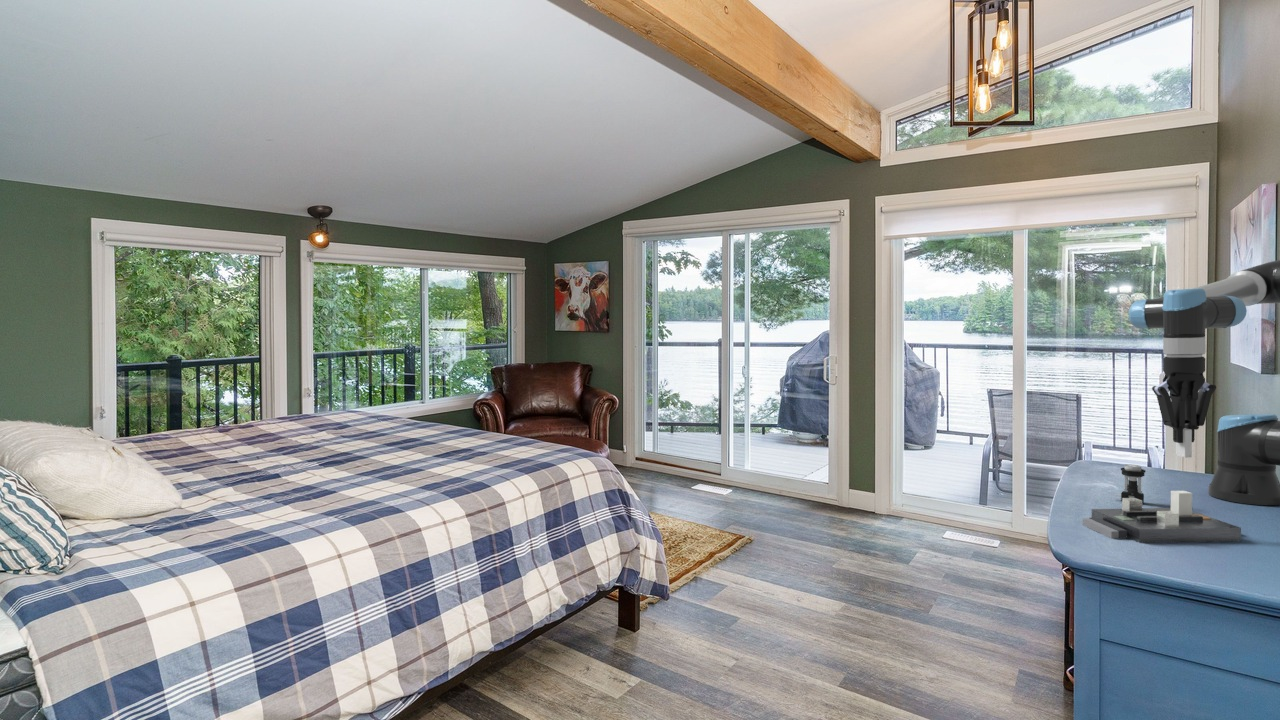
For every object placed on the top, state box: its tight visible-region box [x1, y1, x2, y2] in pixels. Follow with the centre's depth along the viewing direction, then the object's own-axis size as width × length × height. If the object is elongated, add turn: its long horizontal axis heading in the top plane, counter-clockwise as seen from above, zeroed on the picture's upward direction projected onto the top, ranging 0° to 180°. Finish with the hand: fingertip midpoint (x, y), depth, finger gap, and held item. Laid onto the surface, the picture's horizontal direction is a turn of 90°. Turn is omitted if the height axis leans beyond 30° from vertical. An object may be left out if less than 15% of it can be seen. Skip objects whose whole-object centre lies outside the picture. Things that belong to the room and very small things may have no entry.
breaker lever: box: [1170, 490, 1193, 516], centre depth 151 cm, size 3×2×6 cm
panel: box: [1091, 498, 1242, 544], centre depth 151 cm, size 22×16×6 cm
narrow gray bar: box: [1082, 517, 1128, 539], centre depth 152 cm, size 3×10×2 cm, turn 178°
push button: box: [1114, 464, 1146, 505], centre depth 175 cm, size 7×5×10 cm
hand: (1183, 456), depth 151 cm, fingers closed
